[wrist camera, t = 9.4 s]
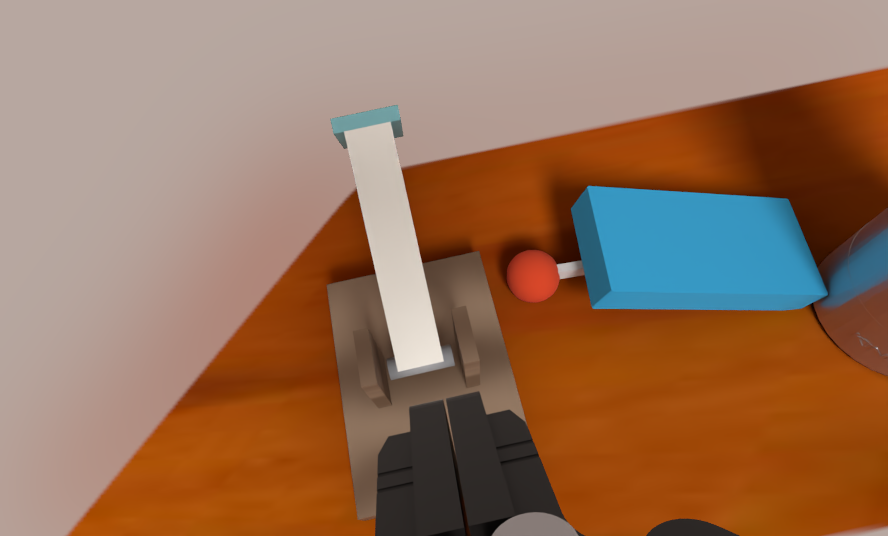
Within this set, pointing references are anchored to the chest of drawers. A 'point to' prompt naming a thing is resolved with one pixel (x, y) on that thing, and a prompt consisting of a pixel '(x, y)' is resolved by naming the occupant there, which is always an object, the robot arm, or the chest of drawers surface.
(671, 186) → the chest of drawers surface
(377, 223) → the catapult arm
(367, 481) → the catapult stand
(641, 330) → the chest of drawers surface
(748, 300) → the lever
